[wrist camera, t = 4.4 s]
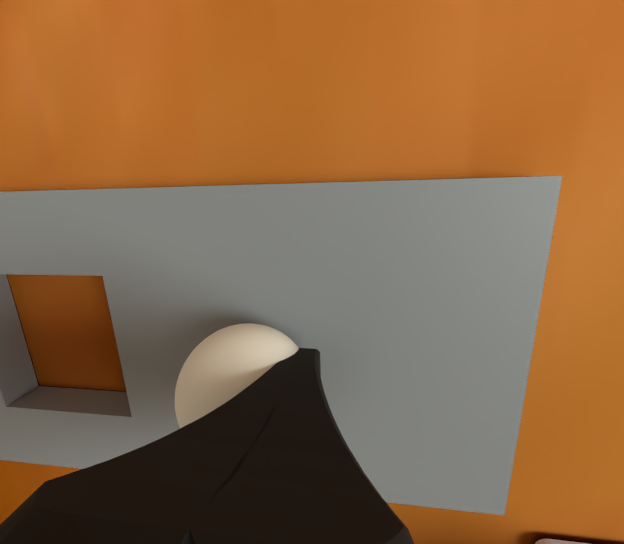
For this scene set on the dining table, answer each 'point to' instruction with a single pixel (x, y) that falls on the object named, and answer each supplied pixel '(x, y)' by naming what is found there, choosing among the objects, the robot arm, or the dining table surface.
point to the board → (300, 315)
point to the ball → (227, 367)
